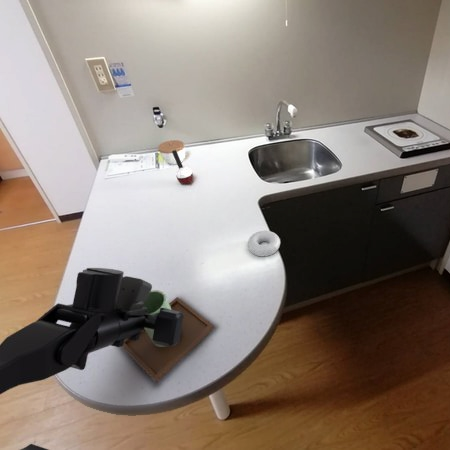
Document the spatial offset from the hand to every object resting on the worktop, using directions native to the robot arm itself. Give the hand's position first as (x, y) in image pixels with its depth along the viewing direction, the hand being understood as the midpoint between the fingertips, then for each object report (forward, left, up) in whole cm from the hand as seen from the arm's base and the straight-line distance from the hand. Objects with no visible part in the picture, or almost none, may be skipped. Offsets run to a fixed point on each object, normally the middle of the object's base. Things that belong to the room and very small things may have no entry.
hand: (161, 312), depth 67 cm
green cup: (-1, -1, -7) cm, 7 cm away
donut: (+35, +1, -8) cm, 36 cm away
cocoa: (+45, +52, -8) cm, 70 cm away
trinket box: (+53, +70, -8) cm, 88 cm away
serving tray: (-1, -1, -8) cm, 8 cm away
